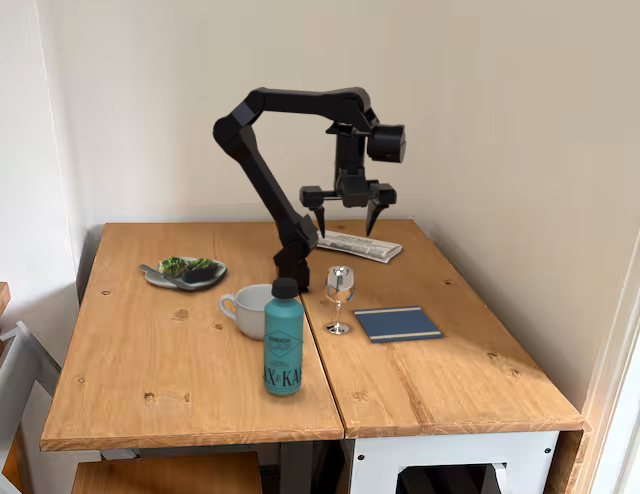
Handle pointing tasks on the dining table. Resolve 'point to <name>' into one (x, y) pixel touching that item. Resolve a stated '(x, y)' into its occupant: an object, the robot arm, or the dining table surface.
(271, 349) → the beverage bottle
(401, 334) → the napkin
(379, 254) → the newspaper
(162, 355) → the dining table surface
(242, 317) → the teacup
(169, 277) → the salad plate
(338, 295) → the wineglass
